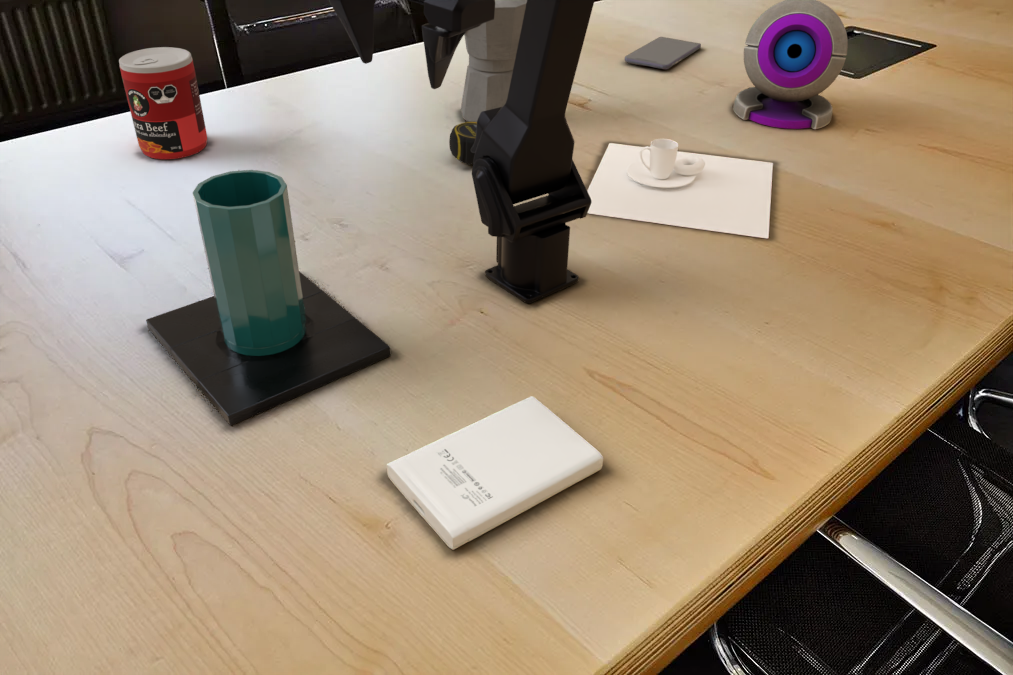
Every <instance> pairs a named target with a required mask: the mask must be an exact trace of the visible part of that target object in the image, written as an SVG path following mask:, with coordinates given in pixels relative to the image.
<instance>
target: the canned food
mask: <svg viewBox="0 0 1013 675" xmlns="http://www.w3.org/2000/svg"><path fill="white" fill-rule="evenodd" d="M118 63H119V64H118V65H119V69H120V74H121V79H122V83H123V87H124V92H125V96H126V100H127V103H128V107H129V111H130V115H131V119H132V124H133V127H134V132H135V136H136V140H137V143H138V144H137V145H138V147H139V148H140V150H141V152H142V154H143V155H145V156H146V157H148V158H151V159H154V160H177V159H182V158H187V157H191V156H193V155H196V154H198V153H200V152H201V151H203V149H205V148H206V147H207V143H208V132H207V128H206V123H205V117H204V112H203V107H202V102H201V95H200V90H199V85H198V80H197V75H196V70H195V66H194V60H193V56H192V53H191V52H190V51H189V50H188V49H184V48H180V47H169V46H161V47H160V46H159V47H148V48H142V49H139V50H134V51H131V52H128V53H126V54H124V55H122V56H121V57H120V58H119V59H118Z"/></svg>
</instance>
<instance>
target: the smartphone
mask: <svg viewBox="0 0 1013 675" xmlns="http://www.w3.org/2000/svg"><path fill="white" fill-rule="evenodd" d="M701 46H702V45H701V43H700V42H694V41H688V40H683V39H677V38H671V37H666V36H658V37H657V38H655V39H653V40H651V41H650V42H648V43H646V44H644V45H643V46H641V47H639V48H637V49H635V50H634V51H632V52H630V53H628V54H626V55H625V56H624V61H625V63H627V64H630V65H637V66H644V67H645V66H646V67H651V68H655V69H660V70H669V69H670V68H672V67H674V66H675V65H677V64H678V63H680V62H681V61H683V60H684V59H686V58H687V57H689V56H690V55H692V54H693V53H695V52H697V51H698V50H700V49H701V48H702V47H701Z"/></svg>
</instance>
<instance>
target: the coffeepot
mask: <svg viewBox="0 0 1013 675" xmlns="http://www.w3.org/2000/svg"><path fill="white" fill-rule="evenodd" d="M526 3H527V0H495V14H494V20H491V21H488V22H486V23H483V24H481V25H480V26H479V27H476V28H474V29H471V30H468V31H467V32H466V33H465V34H464V36H463V37H464V41H465V49H466V52H467V54H468V65H467V68H466V71H465V72H466V73H465V78H464V86H463V93H462V99H461V105H460V111H461V117H462V119H463V120H464V121H466V122H477V120H478V118H479V115H480V113H481V112H482V111H486V110H490V109H494V108H498V107H502V106H503V105H504V104H505V103H506V101H507V97H508V92H509V87H510V82H511V77H512V72H513V67H514V62H515V58H516V53H517V48H518V43H519V38H520V33H521V28H522V23H523V18H524V13H525V8H526Z"/></svg>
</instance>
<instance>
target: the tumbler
mask: <svg viewBox="0 0 1013 675" xmlns="http://www.w3.org/2000/svg"><path fill="white" fill-rule="evenodd" d="M192 197H193V202H194V207H195V211H196V217H197V221H198V226H199V231H200V236H201V240H202V245H203V250H204V254H205V258H206V259H205V260H206V264H207V270H208V273H209V278H210V282H211V287H212V293H213V296H214V297H215V302H216V306H217V311H218V316H219V321H220V325H221V330H222V332H223V337H224V341H225V343H226V345H227V346H228V347H229V348H230V349H231V350H233V351H235V352H237V353H240V354H243V355H249V356H266V355H272V354H276V353H280V352H282V351H285V350H287V349H289V348H291V347H293V346H294V345H296V344H297V343H298V342H299V341H301V339H302V338H303V337H304V335H305V332H306V324H305V321H306V317H305V310H304V303H303V296H302V289H301V282H300V275H299V271H300V269H299V261H298V254H297V247H296V240H295V233H294V226H293V218H292V212H291V205H290V197H289V191H288V185H287V183H286V182H285V180H284V178H283V176H280V175H278V174H275V173H273V172H270V171H265V170H256V169H243V170H231V171H226V172H222V173H219V174H215V175H211V176H210V177H208V178H206V179H205V180H203V181H201V182H199V183H198V184H197V185H196V186H195V188H194V189H193V191H192Z"/></svg>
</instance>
